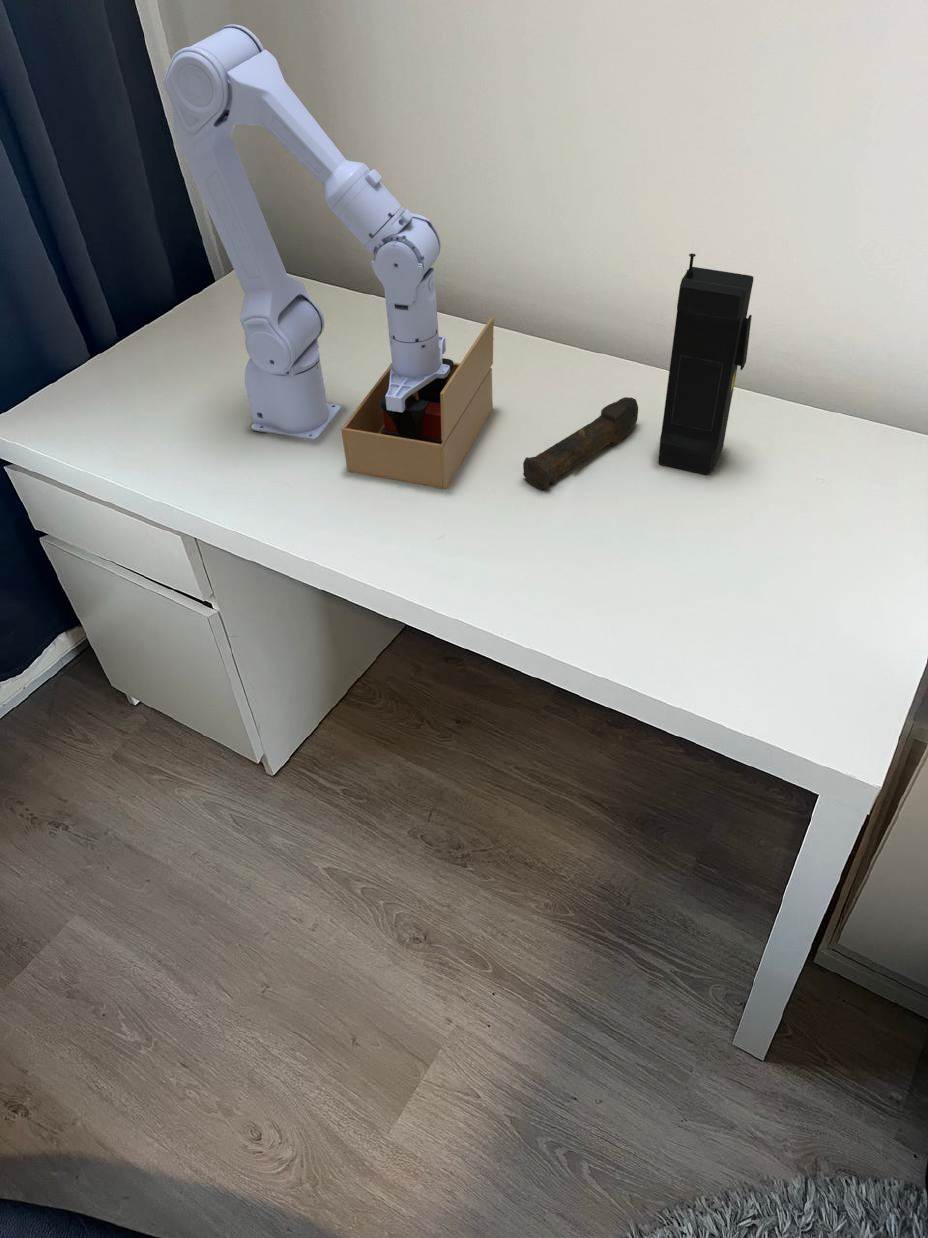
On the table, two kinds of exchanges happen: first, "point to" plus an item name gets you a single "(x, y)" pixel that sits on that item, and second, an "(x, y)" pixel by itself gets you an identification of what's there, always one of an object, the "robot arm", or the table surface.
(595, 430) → the brown rough bar
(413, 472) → the carton
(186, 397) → the table surface
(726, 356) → the portable radio
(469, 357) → the flap
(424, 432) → the stapler
